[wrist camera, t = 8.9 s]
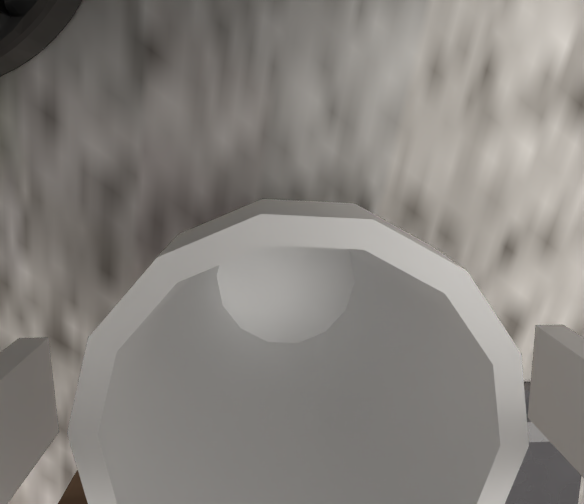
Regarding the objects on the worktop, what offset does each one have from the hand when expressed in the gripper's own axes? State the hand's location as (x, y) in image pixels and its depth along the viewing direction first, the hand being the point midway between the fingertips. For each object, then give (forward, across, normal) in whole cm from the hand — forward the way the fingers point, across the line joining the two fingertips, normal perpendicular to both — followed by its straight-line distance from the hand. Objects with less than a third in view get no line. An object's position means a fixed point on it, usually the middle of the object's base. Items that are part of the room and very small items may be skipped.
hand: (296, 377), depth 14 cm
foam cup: (+10, 0, 0) cm, 10 cm away
